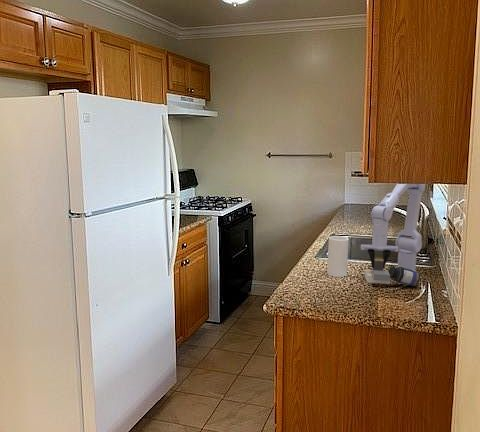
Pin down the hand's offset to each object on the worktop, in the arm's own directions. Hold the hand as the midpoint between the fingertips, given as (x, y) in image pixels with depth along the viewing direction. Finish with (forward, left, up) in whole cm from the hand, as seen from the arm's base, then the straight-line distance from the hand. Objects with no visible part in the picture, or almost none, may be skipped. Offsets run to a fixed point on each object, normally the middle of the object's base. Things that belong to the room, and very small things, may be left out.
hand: (377, 267), depth 195 cm
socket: (0, 0, -5) cm, 5 cm away
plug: (0, 0, -2) cm, 2 cm away
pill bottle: (+6, +14, -2) cm, 16 cm away
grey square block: (+8, 0, -2) cm, 9 cm away
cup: (-5, -16, -5) cm, 18 cm away
